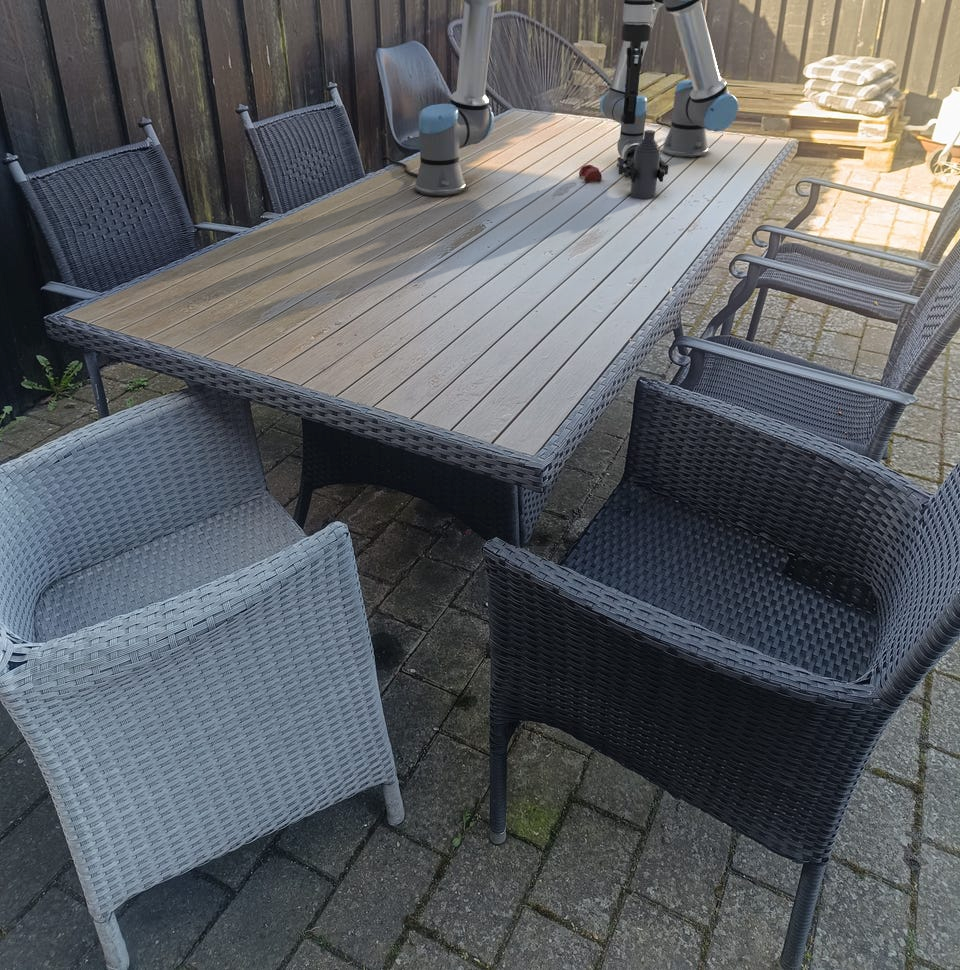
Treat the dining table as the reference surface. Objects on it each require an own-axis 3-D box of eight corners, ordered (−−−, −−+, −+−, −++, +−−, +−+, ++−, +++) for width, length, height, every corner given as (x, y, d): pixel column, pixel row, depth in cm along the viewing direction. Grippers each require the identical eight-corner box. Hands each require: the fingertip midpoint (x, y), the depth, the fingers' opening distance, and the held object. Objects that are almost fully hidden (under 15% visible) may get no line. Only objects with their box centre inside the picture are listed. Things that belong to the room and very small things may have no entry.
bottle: (634, 190, 258) (640, 127, 248) (658, 193, 256) (665, 129, 245) (627, 196, 253) (633, 132, 242) (651, 200, 250) (659, 135, 240)
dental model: (594, 161, 269) (603, 168, 262) (593, 174, 271) (602, 181, 265) (577, 162, 268) (586, 169, 261) (577, 176, 270) (586, 183, 264)
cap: (627, 123, 223) (628, 117, 222) (617, 120, 226) (617, 114, 225) (639, 121, 225) (640, 115, 224) (629, 118, 228) (630, 112, 227)
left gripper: (655, 27, 205) (645, 129, 219) (649, 18, 219) (640, 114, 233) (624, 27, 205) (616, 128, 219) (620, 18, 219) (612, 114, 233)
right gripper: (666, 168, 267) (680, 190, 249) (602, 168, 267) (612, 190, 248) (669, 143, 263) (684, 163, 244) (604, 144, 263) (614, 164, 244)
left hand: (628, 121), depth 226 cm, fingers closed on cap, 4 cm apart
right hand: (648, 177), depth 246 cm, fingers closed on bottle, 7 cm apart
